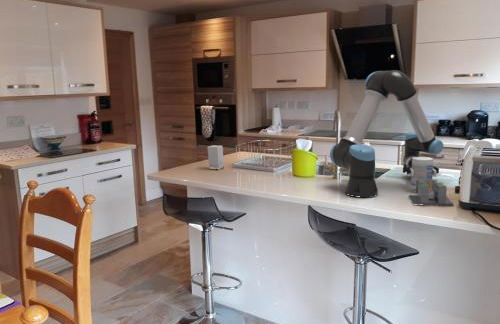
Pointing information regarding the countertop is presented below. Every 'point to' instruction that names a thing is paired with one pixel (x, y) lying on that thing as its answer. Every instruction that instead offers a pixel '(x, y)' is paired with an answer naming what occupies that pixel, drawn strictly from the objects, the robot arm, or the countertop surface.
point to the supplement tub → (421, 169)
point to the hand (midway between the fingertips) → (424, 173)
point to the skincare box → (215, 156)
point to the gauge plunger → (430, 183)
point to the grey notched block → (439, 195)
